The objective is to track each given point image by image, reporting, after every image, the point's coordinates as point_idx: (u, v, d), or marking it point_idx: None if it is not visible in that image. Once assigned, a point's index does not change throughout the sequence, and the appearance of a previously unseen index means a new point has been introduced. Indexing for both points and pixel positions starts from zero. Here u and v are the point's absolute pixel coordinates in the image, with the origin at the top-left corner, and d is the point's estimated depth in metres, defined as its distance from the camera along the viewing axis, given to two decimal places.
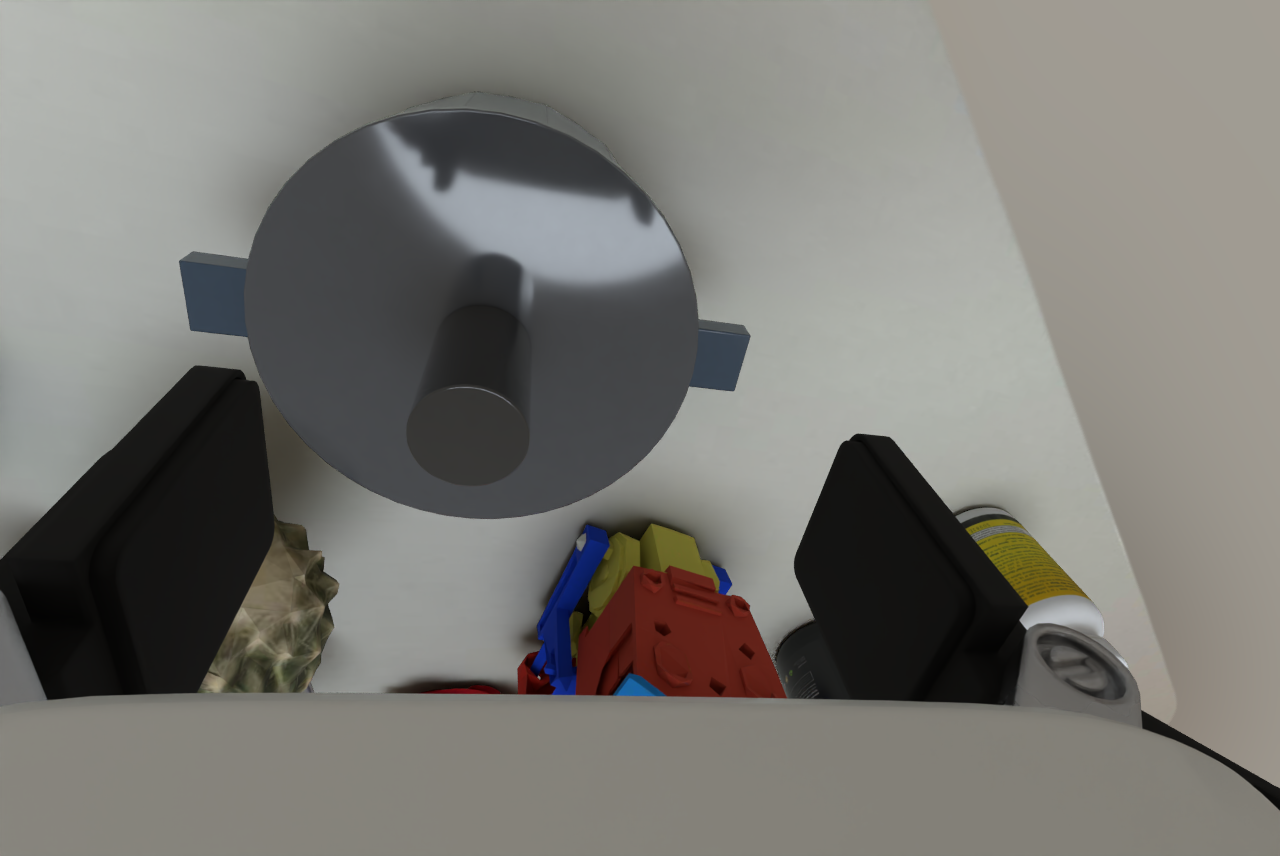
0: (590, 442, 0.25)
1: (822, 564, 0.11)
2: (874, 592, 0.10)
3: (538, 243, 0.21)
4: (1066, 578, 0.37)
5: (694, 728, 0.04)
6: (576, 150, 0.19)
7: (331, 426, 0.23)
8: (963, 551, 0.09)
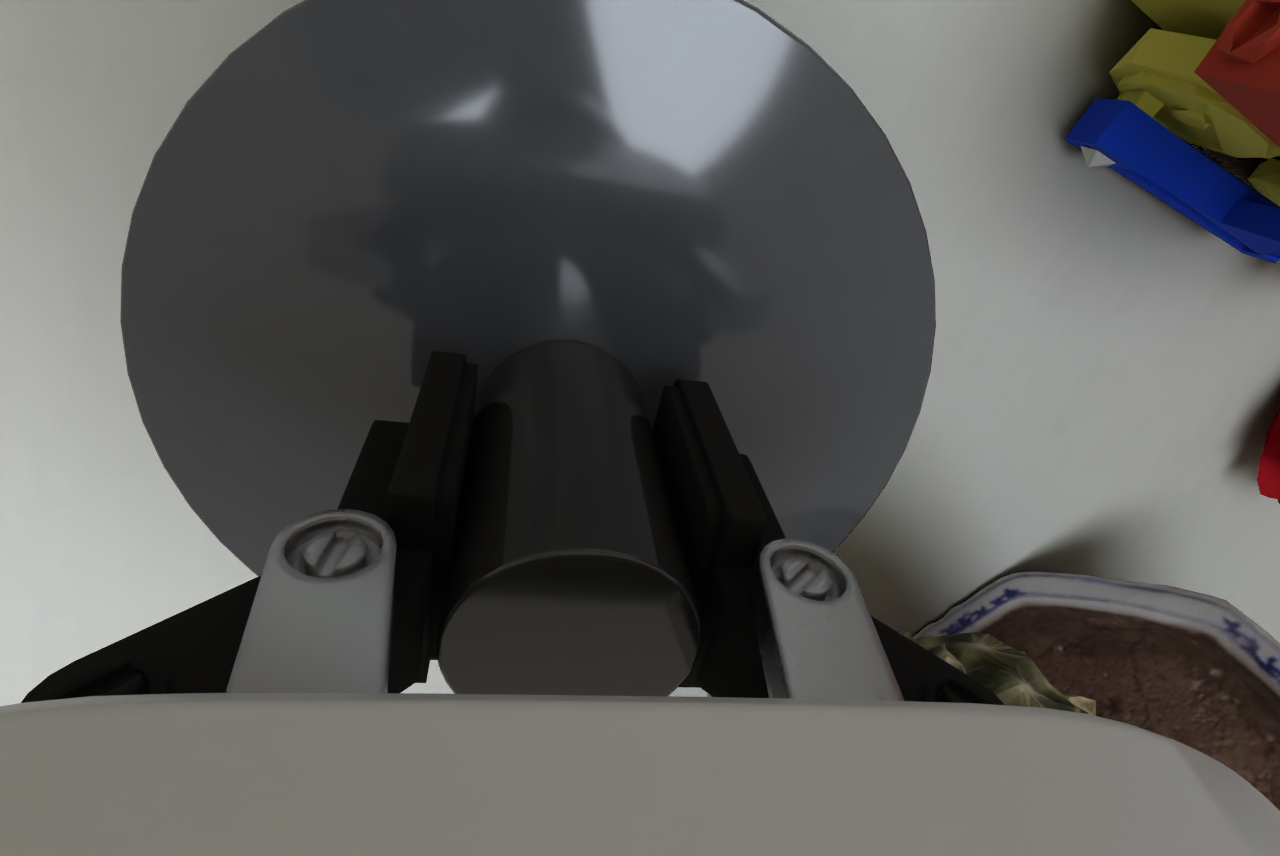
0: (786, 229, 0.11)
1: None
2: None
3: (345, 323, 0.11)
4: None
5: (694, 728, 0.04)
6: (145, 254, 0.10)
7: None
8: (727, 475, 0.09)
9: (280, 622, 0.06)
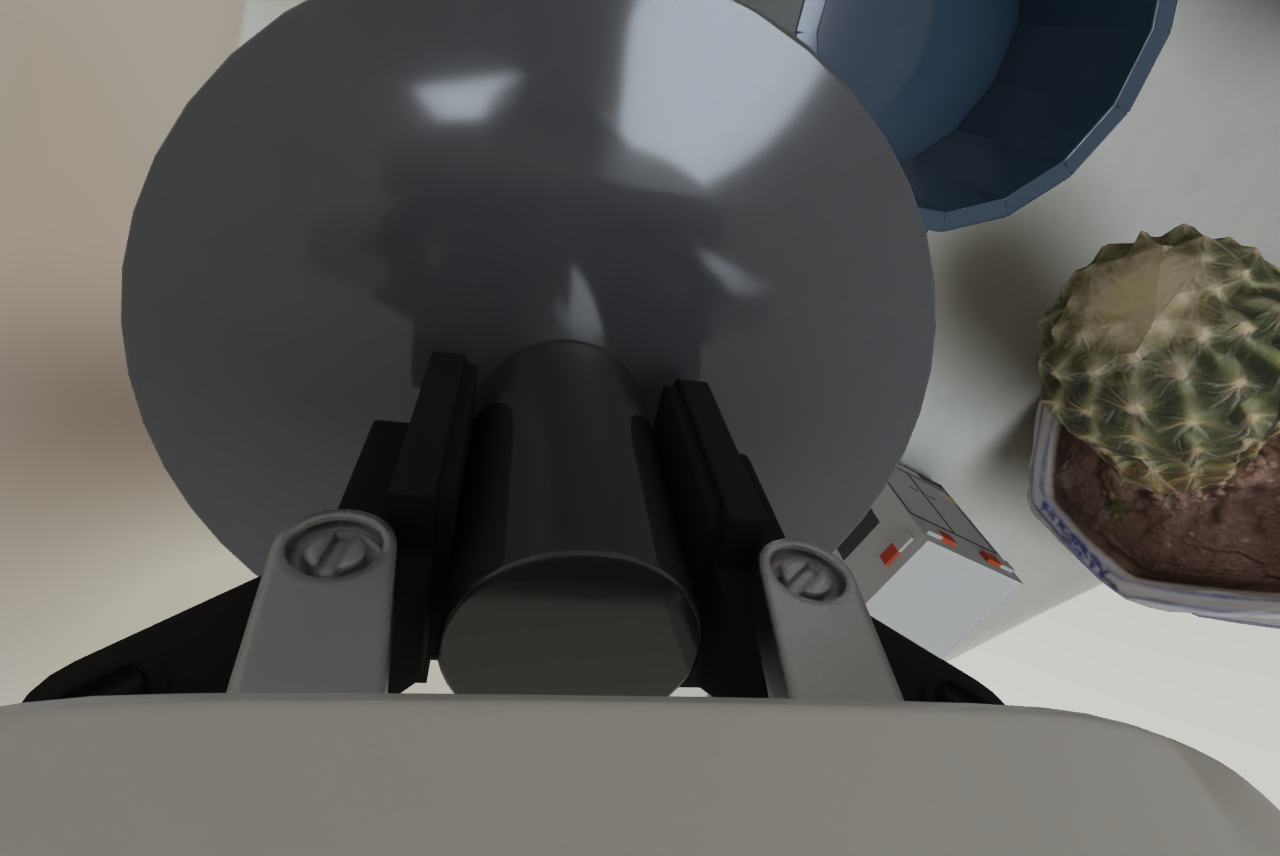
0: (786, 229, 0.11)
1: None
2: None
3: (345, 323, 0.11)
4: None
5: (694, 728, 0.04)
6: (144, 254, 0.10)
7: None
8: (727, 475, 0.09)
9: (281, 622, 0.06)
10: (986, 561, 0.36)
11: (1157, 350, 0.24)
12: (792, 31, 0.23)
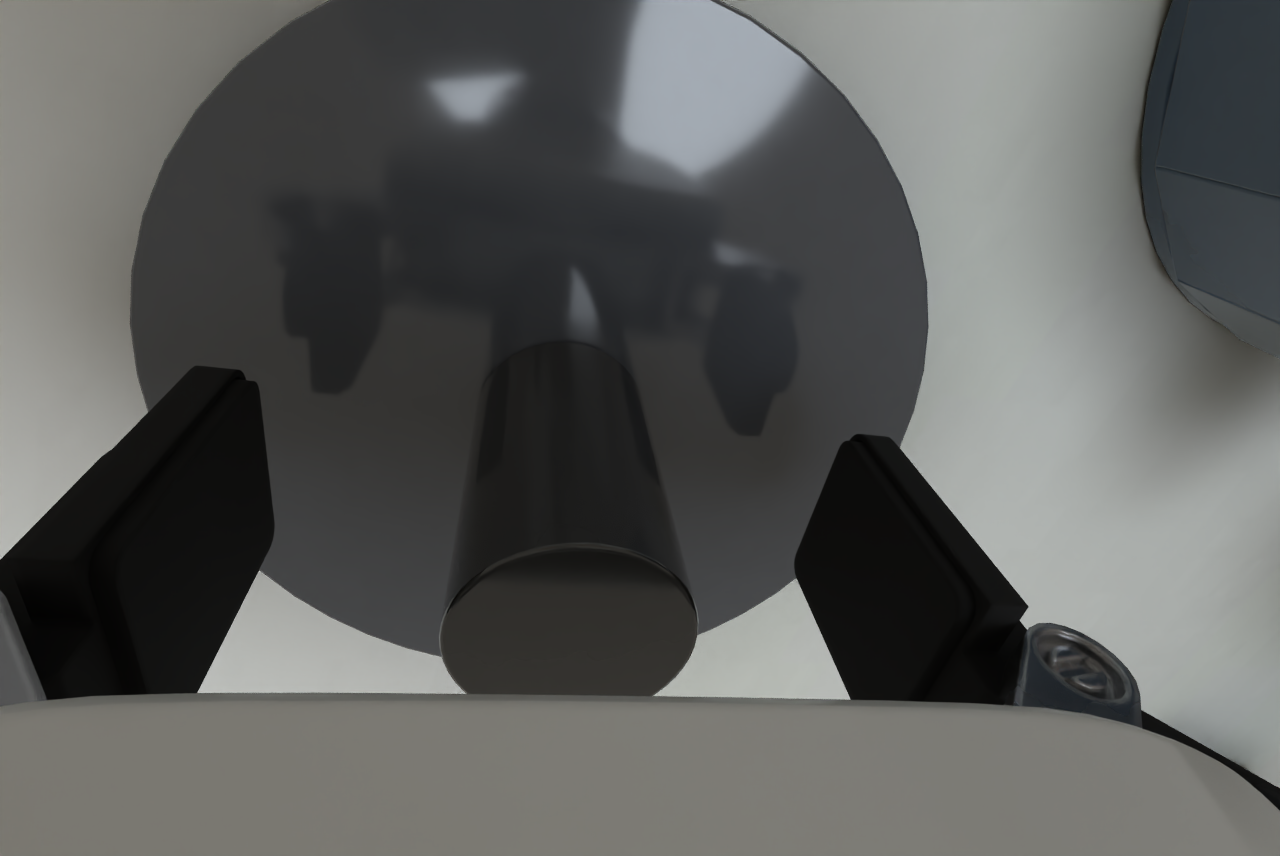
0: (781, 231, 0.11)
1: (822, 564, 0.11)
2: (874, 592, 0.10)
3: (349, 324, 0.11)
4: None
5: (694, 728, 0.04)
6: (154, 257, 0.10)
7: None
8: (963, 551, 0.09)
9: None
10: None
11: None
12: None
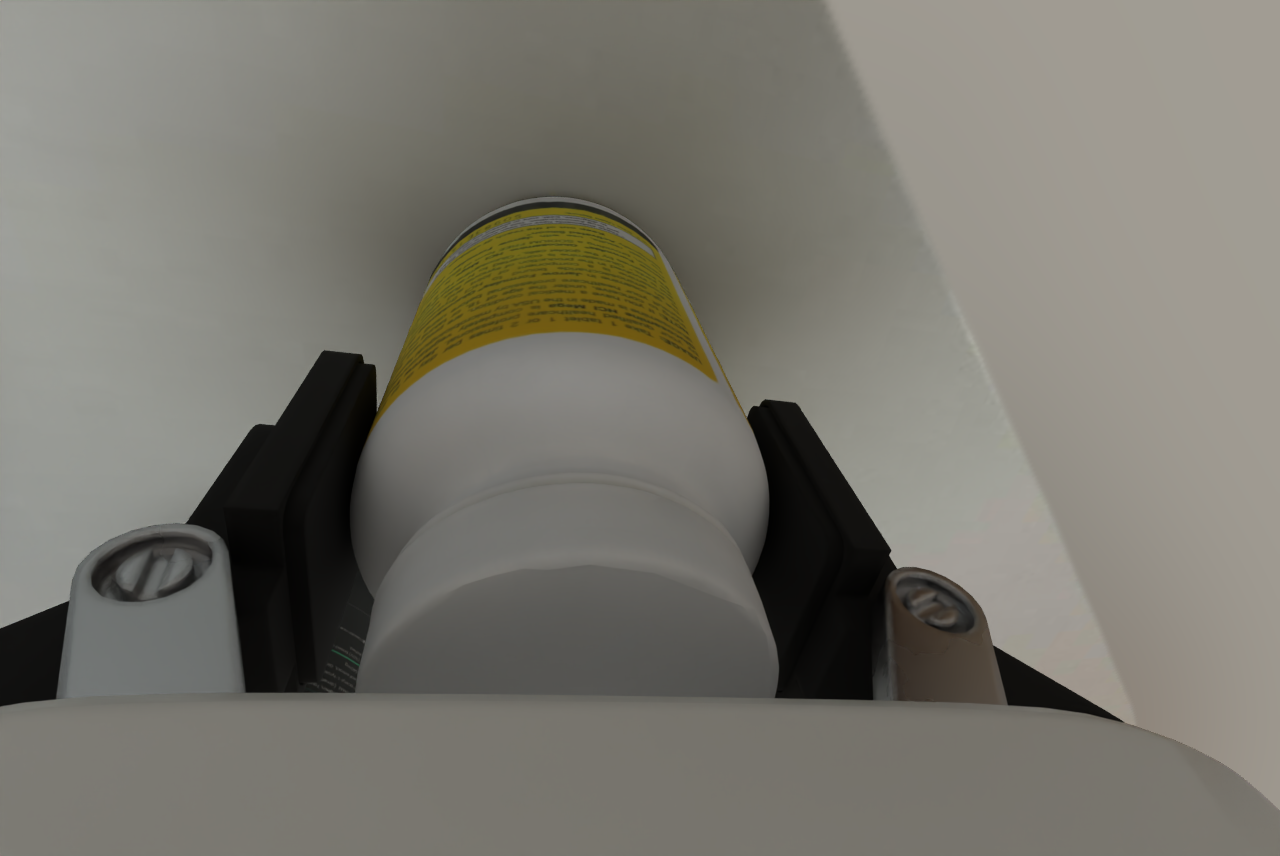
0: None
1: None
2: (769, 547, 0.10)
3: None
4: (644, 309, 0.10)
5: (694, 728, 0.04)
6: None
7: None
8: (840, 502, 0.09)
9: (103, 657, 0.05)
10: None
11: None
12: None
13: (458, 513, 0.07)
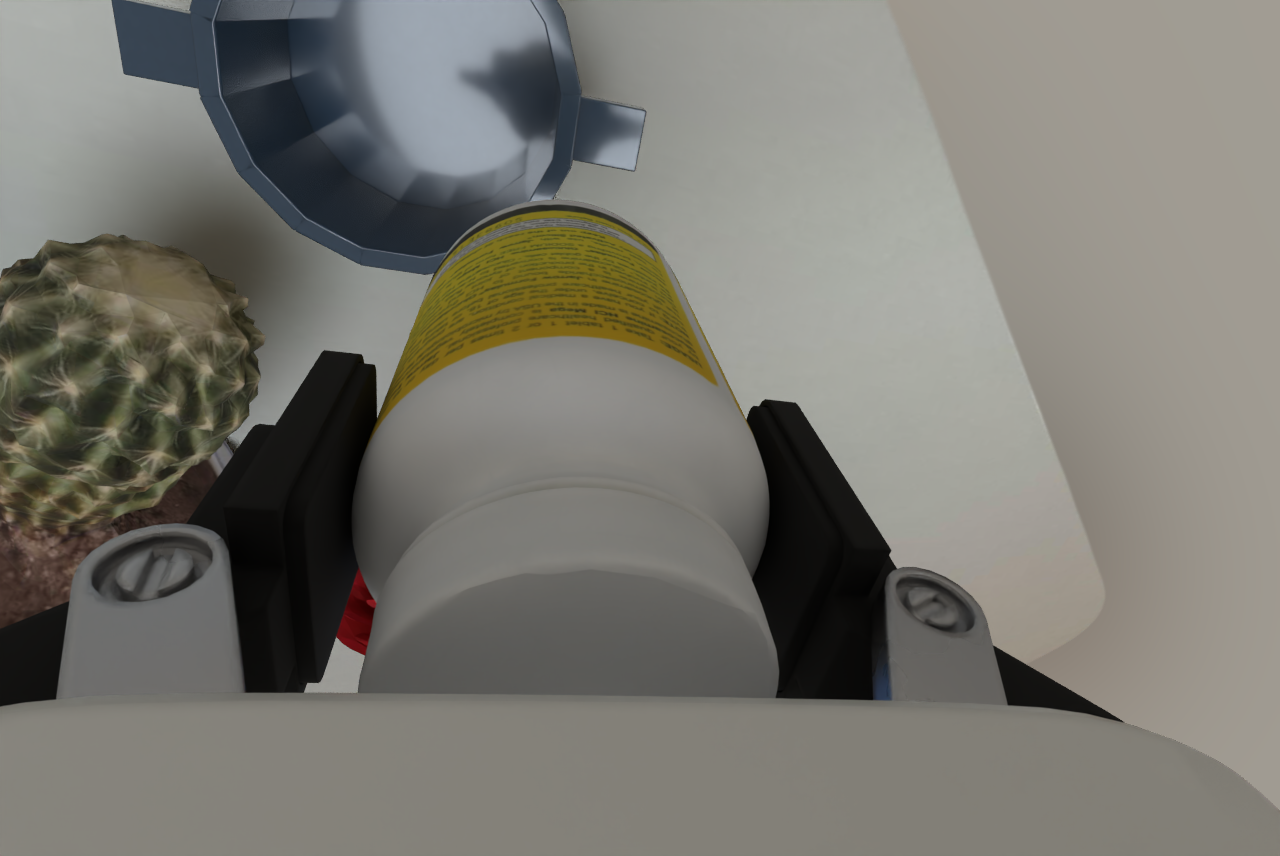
0: None
1: None
2: (769, 547, 0.10)
3: None
4: (645, 312, 0.10)
5: (694, 728, 0.04)
6: None
7: None
8: (840, 502, 0.09)
9: (103, 657, 0.05)
10: None
11: (89, 305, 0.22)
12: None
13: (459, 517, 0.07)
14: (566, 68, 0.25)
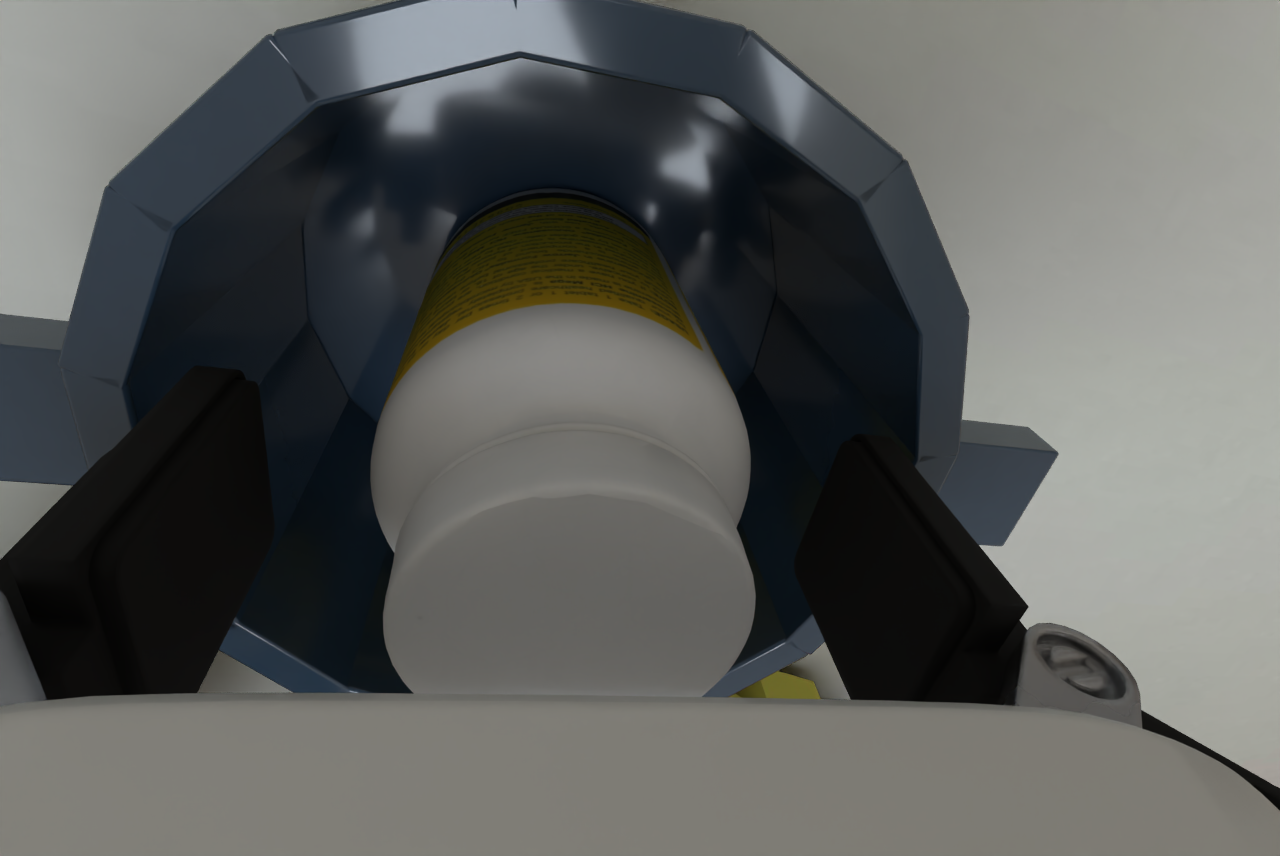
0: None
1: (823, 564, 0.11)
2: (874, 592, 0.10)
3: None
4: (636, 286, 0.11)
5: (694, 728, 0.04)
6: None
7: None
8: (963, 551, 0.09)
9: None
10: None
11: None
12: None
13: (473, 456, 0.08)
14: (942, 413, 0.11)
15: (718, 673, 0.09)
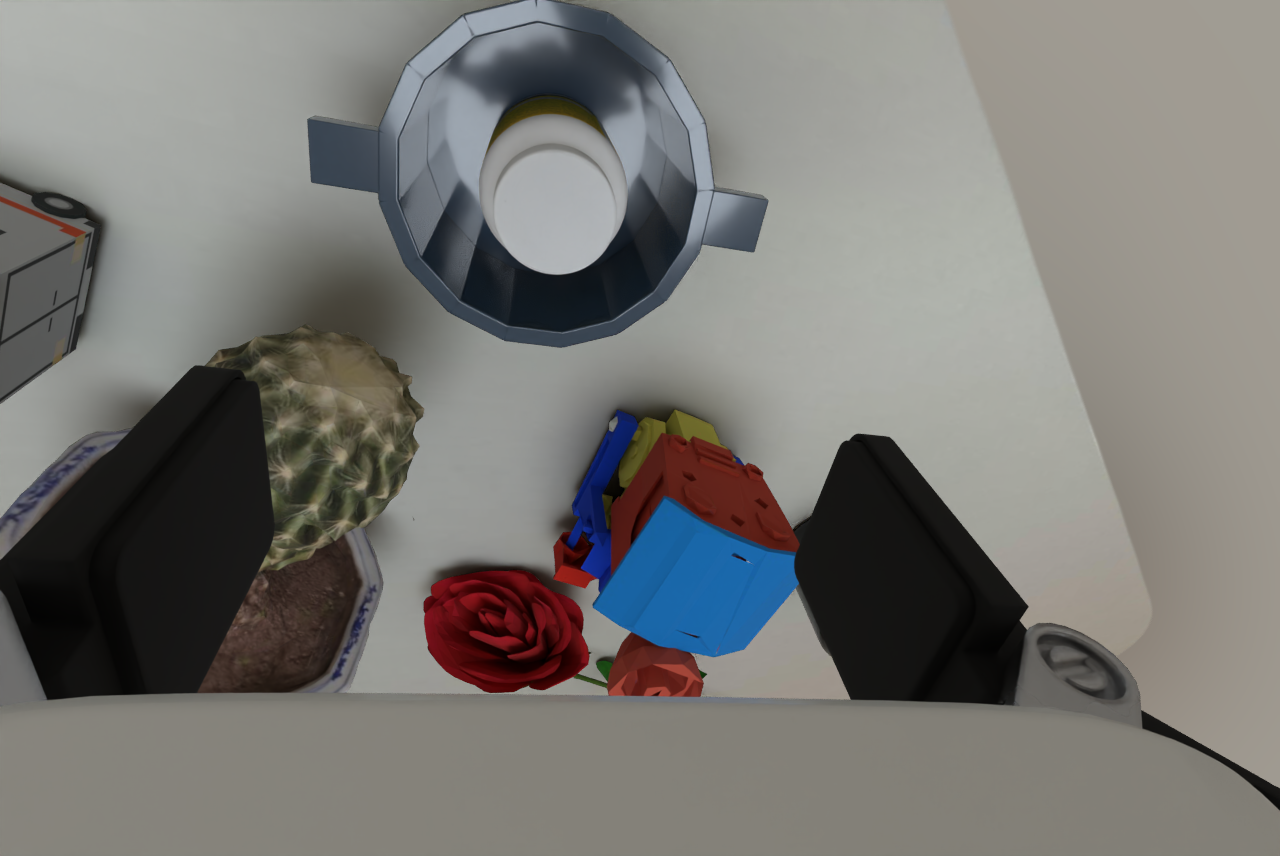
0: None
1: (823, 564, 0.11)
2: (874, 592, 0.10)
3: None
4: (581, 117, 0.28)
5: (695, 728, 0.04)
6: None
7: None
8: (963, 551, 0.09)
9: None
10: None
11: (301, 398, 0.24)
12: None
13: (522, 151, 0.25)
14: (703, 168, 0.28)
15: (606, 241, 0.26)
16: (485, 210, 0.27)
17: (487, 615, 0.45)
